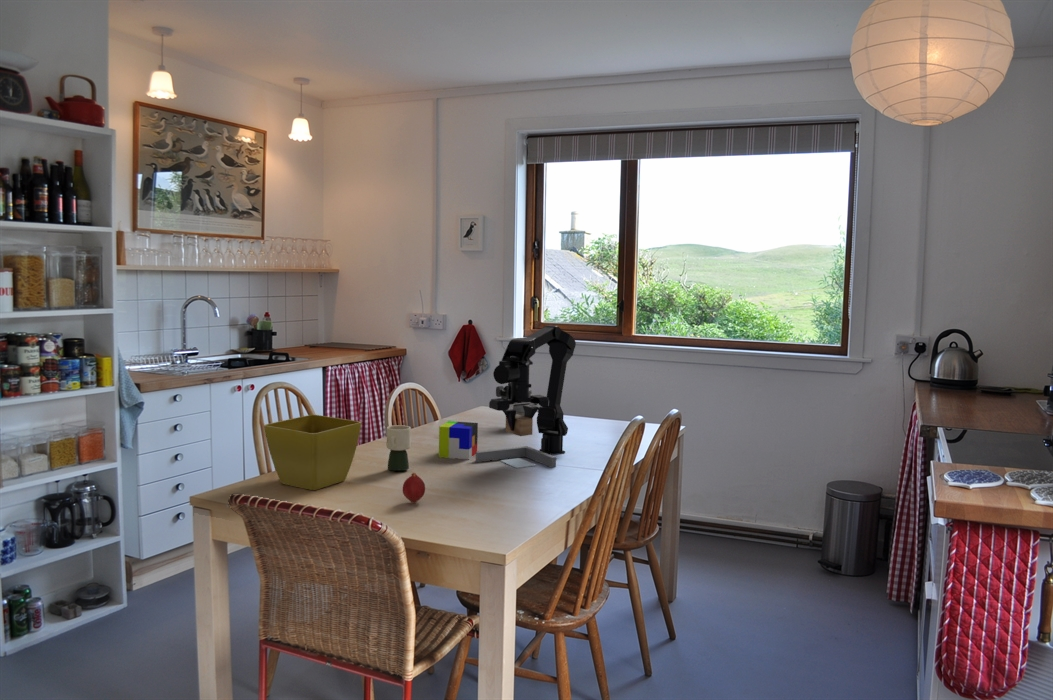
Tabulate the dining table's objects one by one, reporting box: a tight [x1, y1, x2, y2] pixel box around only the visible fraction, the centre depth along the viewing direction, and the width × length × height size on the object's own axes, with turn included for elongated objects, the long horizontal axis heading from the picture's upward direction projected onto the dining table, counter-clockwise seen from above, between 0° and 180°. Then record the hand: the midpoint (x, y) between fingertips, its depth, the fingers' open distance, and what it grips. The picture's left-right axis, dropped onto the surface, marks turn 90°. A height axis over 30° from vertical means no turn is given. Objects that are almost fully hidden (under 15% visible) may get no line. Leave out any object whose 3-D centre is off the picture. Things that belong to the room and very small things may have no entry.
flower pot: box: [263, 414, 362, 491], centre depth 216 cm, size 19×19×17 cm
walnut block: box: [505, 414, 534, 437], centre depth 243 cm, size 8×4×5 cm, turn 37°
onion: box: [402, 472, 426, 504], centre depth 200 cm, size 6×6×8 cm
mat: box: [499, 457, 537, 469], centre depth 244 cm, size 7×10×1 cm
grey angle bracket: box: [475, 445, 557, 468], centre depth 244 cm, size 19×17×3 cm
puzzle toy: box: [438, 420, 479, 460], centre depth 253 cm, size 10×10×10 cm
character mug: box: [385, 424, 412, 473], centre depth 232 cm, size 11×7×13 cm, turn 168°
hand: (518, 429), depth 243 cm, fingers closed on walnut block, 5 cm apart
